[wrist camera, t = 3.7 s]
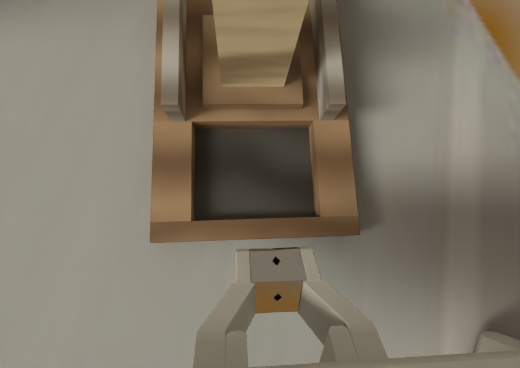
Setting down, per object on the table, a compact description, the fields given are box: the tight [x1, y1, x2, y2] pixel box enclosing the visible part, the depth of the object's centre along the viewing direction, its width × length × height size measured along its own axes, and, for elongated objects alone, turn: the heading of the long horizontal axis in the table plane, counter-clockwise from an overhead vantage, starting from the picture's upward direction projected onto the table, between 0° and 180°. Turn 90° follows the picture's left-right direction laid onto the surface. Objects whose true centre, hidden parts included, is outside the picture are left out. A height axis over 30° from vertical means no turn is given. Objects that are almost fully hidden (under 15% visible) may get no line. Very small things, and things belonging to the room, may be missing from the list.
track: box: [150, 0, 360, 243], centre depth 26 cm, size 37×16×5 cm, turn 2°
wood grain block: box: [203, 0, 309, 109], centre depth 20 cm, size 8×8×10 cm
